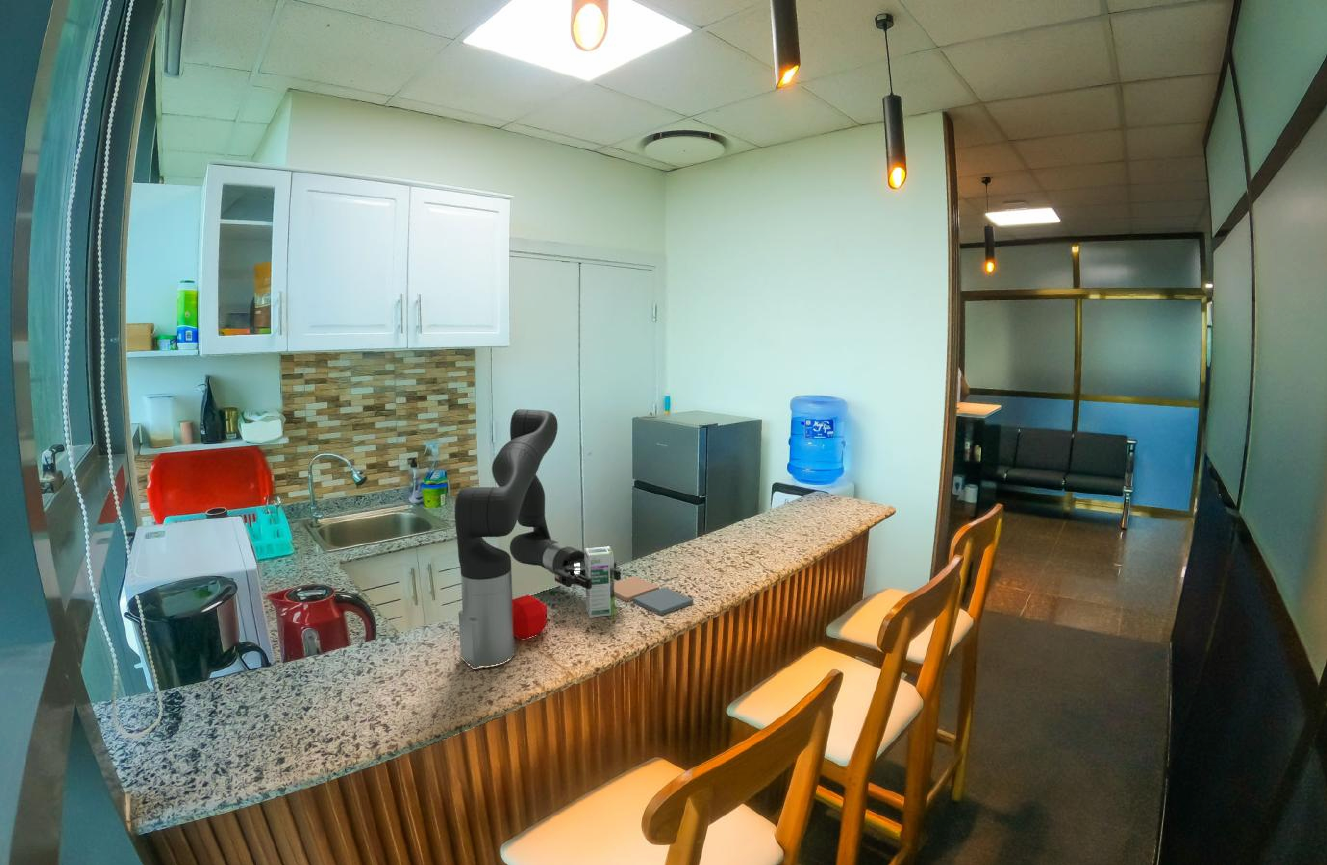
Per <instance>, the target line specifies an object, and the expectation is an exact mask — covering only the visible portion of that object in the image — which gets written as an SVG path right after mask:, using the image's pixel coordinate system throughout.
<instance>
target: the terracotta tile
mask: <svg viewBox="0 0 1327 865" xmlns="http://www.w3.org/2000/svg"><path fill="white" fill-rule="evenodd" d="M658 589H660V587H659V586H658V585H656V584H653V583H651V582H649V581H646V580H645V579H641V578H640V577H637V576H635V575H633V576H629V577H627V578H623V579H620V580H618V581H617V580H615V581H614V596H615V597H616V598H619V599H620V600H622V601H624V602H626V603H627V602H630V601H633V598H634V597H637V596H640V595H643V594H646V593H649V592H652V591H655V590H658Z"/></svg>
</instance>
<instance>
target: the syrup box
mask: <svg viewBox="0 0 1327 865" xmlns="http://www.w3.org/2000/svg"><path fill="white" fill-rule="evenodd" d="M583 553H584V555H585V577H587V578H590V579H591V581H592V588H591V589H586V588H585V609H586V611H587V614H588V617H589V618H590V619H594V618H600V617H609V616H615V614H616V604H615V600H616V598H615V597H616V596H614V582H615V579H614V562H615V560H614V558H615V555H614V552H613V550H612V548H611V547H610V545H607V546H601V547H600V546H597V547H586V548H584V550H583Z"/></svg>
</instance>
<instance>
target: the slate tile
mask: <svg viewBox="0 0 1327 865" xmlns="http://www.w3.org/2000/svg"><path fill="white" fill-rule="evenodd" d="M632 603H634V604H636V605H637V606H640V607H642V608H645V609H647V610H649V611H651V612H652V613H655V614H657V615H658V616H663V615H666V614H668V613H672V612H674V611H677V610H679V609H682V608H684V607H687V606H690V605H693V604H694V599H693V598H691V597H689V596H687V595H684V594H683V593H680V592H677V591H675V590H672V589H670V588H667V587H666V586H664V587H661V588H659V589H658V590H655V591H652V592H649V593H646V594H643V595H640V596H637V597H634V598H633V600H632Z"/></svg>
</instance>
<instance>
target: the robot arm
mask: <svg viewBox="0 0 1327 865" xmlns="http://www.w3.org/2000/svg"><path fill="white" fill-rule="evenodd" d="M509 426H510V427H509V436H510V440H509V441H507V442H506V443H505V444H504V445H503V446H502V447H501V449H500V450H499V451H498V453H497V455H496V456H495V458H494V460H493V462H492V465H491V472H492V477H493V479H494V480H495V483H496V484H497V486H498V487H497V486H494V487H493V486H491V487H489V486H487V487H486V486H485V487H483V486H481V487H480V486H479V487H478V486H477V487H476V486H473V487H472V486H471V487H470V486H469V487H464V488H463V487H462V488H461V489H460V490H459V492H458V493H457V495H456V498H455V503H454V526H455V533H456V543H457V544H456V545H457V554H458V563H459V568H460V584H461V604H462V605H461V607H462V608H461V609H462V610H459V612H458V626H459V627H458V630H459V631H458V632H459V633H458V634H459V649H460V658H461V657H462V658H463V659H464V660H465V661H466V662H467V663H468V664H470V666H472V667H473V668H477V667H479V666H491V665H496V664H500V663H503V662H505V661H507V660H508V659H510V658H511V657H512V656H513V654H514V655H515V635H514V627H513V600H512V599H513V578H512V576H513V575H512V558H513V559H514V560H515V561H517V562H518V563H520V564H524V565H527V566H528V565H529V566H538V567H540V568H541V567H542V568H544V569H545V570H548V572H550V573H552V574H553V575H554V581H555V582H557V583H558V584H560V585H561V586H562V585H563V586H564V587H567V588H571V587H573V586H572V585H574V586H575V587H582V588H583V589H585V590H586V589H591V588H592V581H591V579H590V578H587V577H585V555H584V551H582V550H579V549H577V548H575V547H572V546H570V545H568V544H565V543H560V542H558V541H556V540H553V539H552V538H551V535H550V534H551V533H550V532H549V528H548V525H547V519H546V493H545V489H544V487H543V485H542V482H541V481H540V479H539V477H538V475H537V473H538V471H539V467H540V465H541V462H542V460H543V459H544V456H545V455H546V454H547V453H548V452H549V450H550V449H551V447H552V446H553V444H554V443H555V440H556V437H557V434H558V426H559V425H558V419H557V417H556V416H555V414H554V413H553V412H551V411H548V410H545V409H544V410H541V409H540V410H539V409H521V408H520V409H516V410H515V411H514V412H513V413H512V415H511V419H510V425H509ZM517 523H518V524H519V525H520V526H521V527H526V528H532V529H533V531H530V532H526V533H525V532H524V533H520V534H517V535H516V536H514V537H513V538H512V539H511V540H510V544H509V553H508V552H507V551H505V550H504V549H501V548H499V547H495V546H493V545H492V544H490V543H488V542H487V541H486V540H485V539H484V538H501V537H506V536H508V535H509V534H511V533H512V532H513V531H514V528H515V526H516V525H517ZM510 554H511V555H510ZM511 556H512V558H511ZM621 572H622V571H621V570H619V569H618V568H617V561H614V581H619V580H622V579H621V578H622V577H621V575H622V573H621ZM470 666H469V667H470Z"/></svg>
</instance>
